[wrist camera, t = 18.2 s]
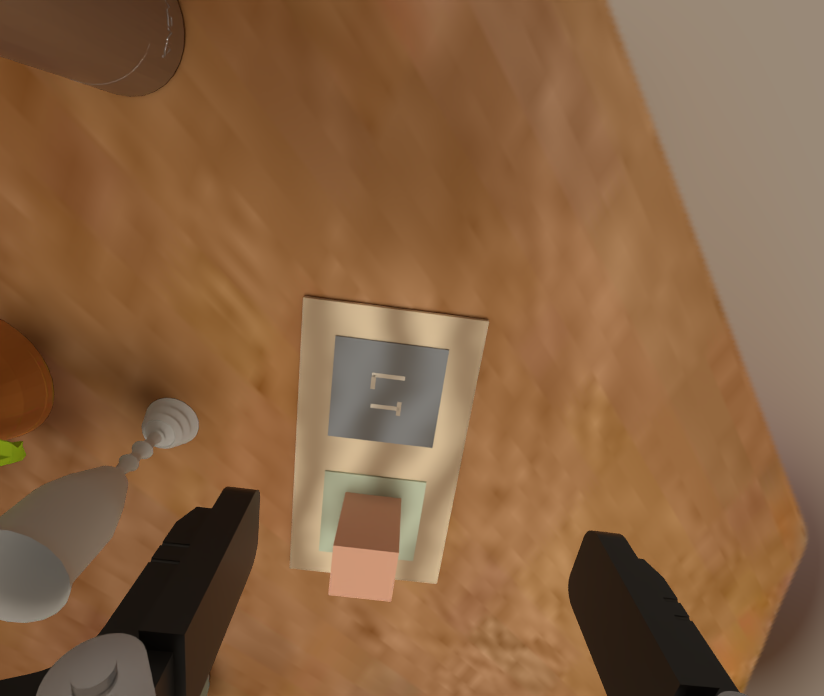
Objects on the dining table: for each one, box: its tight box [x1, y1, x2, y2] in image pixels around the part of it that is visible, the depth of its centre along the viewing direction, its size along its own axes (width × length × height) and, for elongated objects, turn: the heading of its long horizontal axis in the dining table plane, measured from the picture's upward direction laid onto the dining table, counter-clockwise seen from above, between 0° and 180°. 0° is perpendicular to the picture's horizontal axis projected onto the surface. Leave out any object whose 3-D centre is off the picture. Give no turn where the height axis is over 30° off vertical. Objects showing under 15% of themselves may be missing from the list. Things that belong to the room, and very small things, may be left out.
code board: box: [290, 296, 489, 584], centre depth 43 cm, size 16×30×1 cm, turn 172°
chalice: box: [0, 398, 199, 623], centre depth 34 cm, size 7×7×18 cm
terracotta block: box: [328, 492, 401, 602], centre depth 41 cm, size 6×6×7 cm
